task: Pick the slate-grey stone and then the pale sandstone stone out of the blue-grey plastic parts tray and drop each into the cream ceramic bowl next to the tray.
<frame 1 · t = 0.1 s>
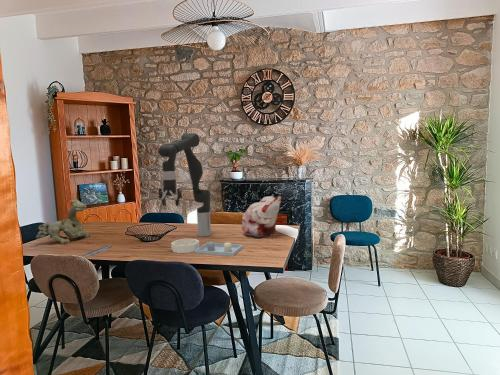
hand: (170, 205, 219), 29 cm above the table, fingers open, 8 cm apart
tray: (219, 251, 223), on the table
bowl: (185, 250, 228), on the table
stone sand: (227, 251, 221), point 1 cm above the table, touching tray
stone slate: (211, 250, 224), point 1 cm above the table, touching tray
sculpture 2: (263, 234, 264), on the table
plaque: (95, 254, 227), on the table
sculpture: (67, 241, 259), on the table
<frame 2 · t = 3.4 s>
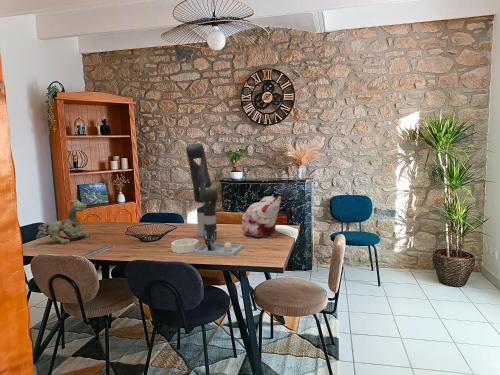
hand: (211, 249, 224), 1 cm above the table, fingers closed on stone slate, 4 cm apart
stone slate: (211, 250, 224), point 1 cm above the table, touching gripper, tray
everything else where it was.
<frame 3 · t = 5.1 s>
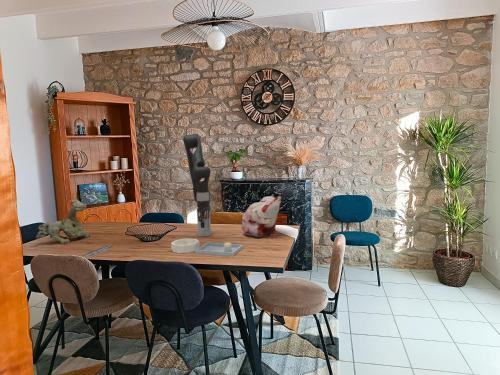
hand: (204, 226, 225), 15 cm above the table, fingers closed on stone slate, 4 cm apart
stone slate: (204, 227, 225), point 15 cm above the table, touching gripper
everything else where it was.
when the fingers open (5 cm above the table, at t = 7.1 s): stone slate drops 4 cm, resting on bowl.
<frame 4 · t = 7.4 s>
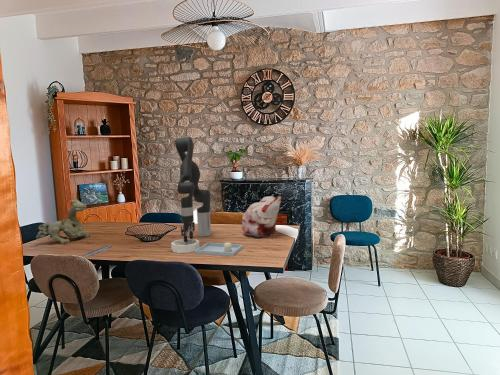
hand: (188, 240, 229), 6 cm above the table, fingers open, 7 cm apart
stone slate: (188, 248, 230), point 1 cm above the table, touching bowl
everything else where it was.
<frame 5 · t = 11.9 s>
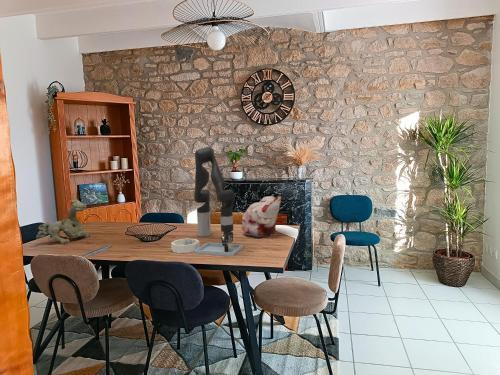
hand: (227, 250, 221), 1 cm above the table, fingers closed on stone sand, 4 cm apart
stone sand: (227, 251, 221), point 1 cm above the table, touching gripper, tray
everything else where it was.
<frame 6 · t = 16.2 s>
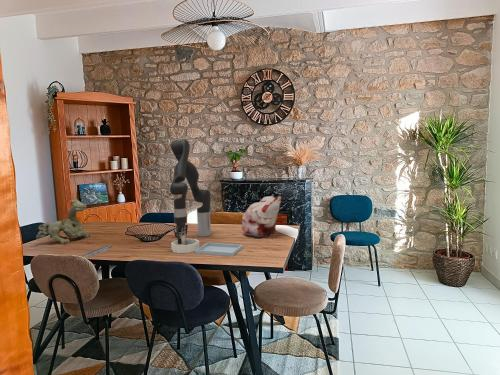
hand: (181, 242, 225), 5 cm above the table, fingers closed on stone sand, 4 cm apart
stone sand: (181, 243, 225), point 5 cm above the table, touching gripper
stone slate: (188, 248, 230), point 1 cm above the table, touching bowl, gripper
everything else where it was.
when the fingers open (5 cm above the table, at t = 16.3 s): stone sand drops 4 cm, resting on bowl.
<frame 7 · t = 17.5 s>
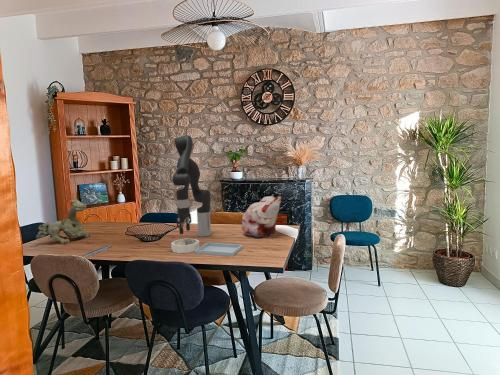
hand: (184, 232, 226), 12 cm above the table, fingers open, 8 cm apart
stone sand: (181, 250, 225), point 1 cm above the table, touching bowl
stone slate: (188, 247, 230), point 1 cm above the table, tilted 6°, touching bowl
everything else where it was.
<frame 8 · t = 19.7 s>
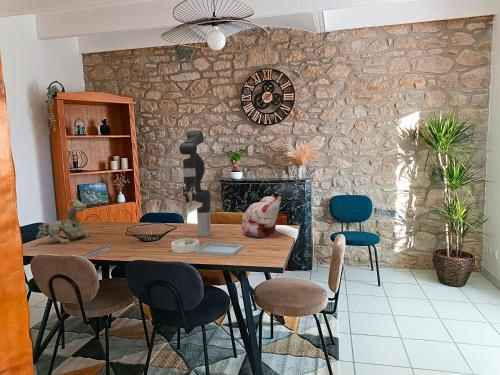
hand: (190, 201, 227), 30 cm above the table, fingers open, 8 cm apart
nothing on the table moved.
at the end: stone slate inside the target area on the bowl (2.7 cm from its centre), point 0.9 cm above the bowl's base; stone sand inside the target area on the bowl (3.1 cm from its centre), point 0.8 cm above the bowl's base; the gripper is holding nothing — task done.
